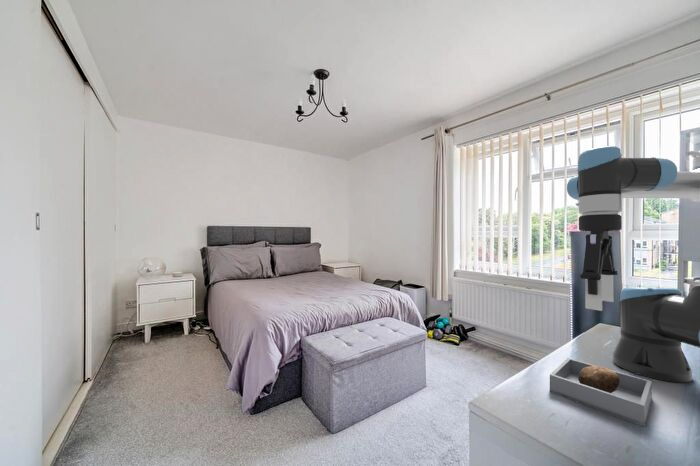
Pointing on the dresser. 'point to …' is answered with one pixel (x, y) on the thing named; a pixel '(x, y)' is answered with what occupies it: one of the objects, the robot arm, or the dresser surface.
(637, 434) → the dresser surface
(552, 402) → the dresser surface
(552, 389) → the tray
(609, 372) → the mushroom
